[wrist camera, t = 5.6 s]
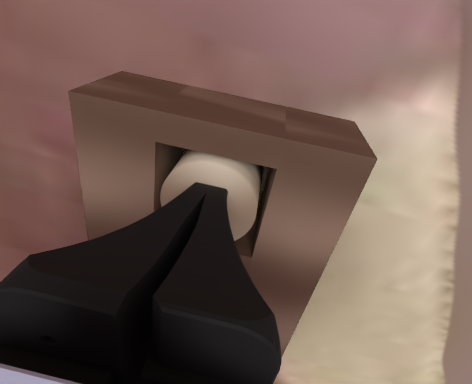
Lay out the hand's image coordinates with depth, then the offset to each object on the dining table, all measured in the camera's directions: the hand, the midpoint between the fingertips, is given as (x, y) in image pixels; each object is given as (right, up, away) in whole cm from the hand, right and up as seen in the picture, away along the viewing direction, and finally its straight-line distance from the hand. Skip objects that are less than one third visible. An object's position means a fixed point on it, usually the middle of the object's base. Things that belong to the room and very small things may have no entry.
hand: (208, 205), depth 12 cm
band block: (0, -1, +5) cm, 5 cm away
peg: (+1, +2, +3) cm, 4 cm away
